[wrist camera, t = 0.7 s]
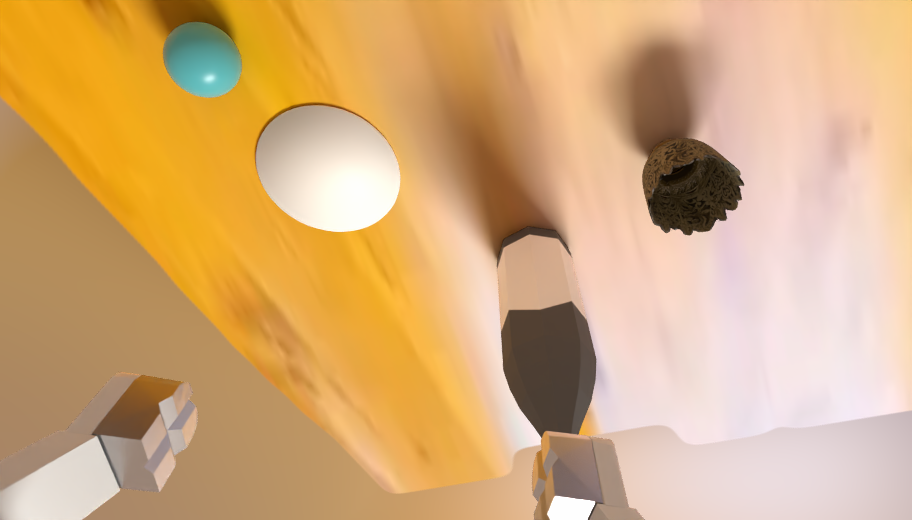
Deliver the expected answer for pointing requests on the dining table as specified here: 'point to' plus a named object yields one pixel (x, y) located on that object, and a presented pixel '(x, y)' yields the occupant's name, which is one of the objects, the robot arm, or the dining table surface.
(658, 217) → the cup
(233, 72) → the teal ball
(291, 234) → the dining table surface
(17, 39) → the dining table surface
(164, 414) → the robot arm
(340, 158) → the cream mark
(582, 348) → the wine bottle
